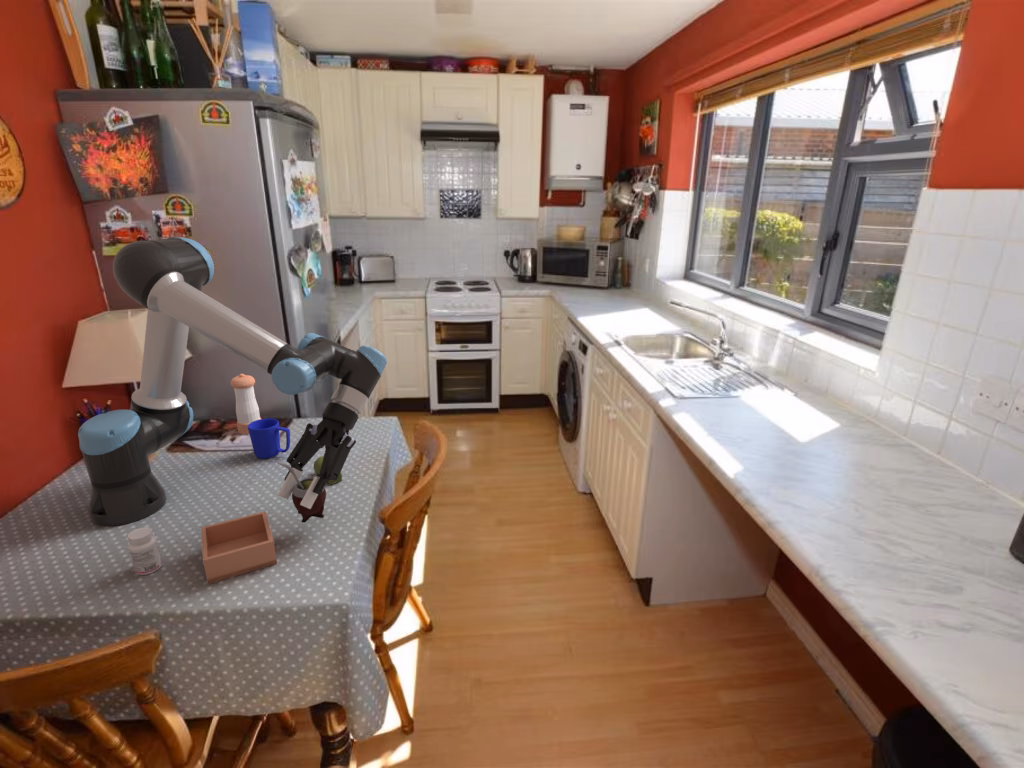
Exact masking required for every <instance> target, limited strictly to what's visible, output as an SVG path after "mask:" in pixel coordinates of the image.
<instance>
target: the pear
mask: <svg viewBox="0 0 1024 768" xmlns="http://www.w3.org/2000/svg"><path fill="white" fill-rule="evenodd" d="M323 458H324V455H322V456H319V457H317V459H315V461H314V463H313V471H314V472H315V473H316V475H317V474H320V470H321V466H322V462H323ZM333 474H334V473H333ZM342 481H343V474H342V471H341V472H340V475H339V477H338V479H337V480H336V481H334V480H330V481H328V482H327V483H326V484H329V485H333V484H336V483H338V482H342Z"/></svg>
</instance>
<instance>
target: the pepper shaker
mask: <svg viewBox="0 0 1024 768" xmlns="http://www.w3.org/2000/svg"><path fill="white" fill-rule="evenodd" d="M255 384H256V380H255V377H254V376H252V375H248V374H244V373H239V374H238V375H236V376H234V377H233V378H231V381H230V384H229V385H230V387H232V388H233V389H234V390H233V391H234V397H235V414H236V419H237V421H236V426H237V427H236V429H237V432H238V434H240V435H250V434H249V431H248V425H249V424H250V423H251V422H253V421H256V420H260V419H262V417H261V415H260V408H259V405H258V401H257V399H256V395H255V388H254V386H255Z"/></svg>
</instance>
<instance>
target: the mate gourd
mask: <svg viewBox="0 0 1024 768" xmlns="http://www.w3.org/2000/svg"><path fill="white" fill-rule="evenodd" d="M276 463H277V465H280V466H283V467H285V468H287V469H288V471H290V472H291V473H292V475H293V476H294V478H295V480H296V481H297V484H296V485H295V487H294V489H293V491H292V493H291V500H292V503H293V505H294V508H295V509H296V510H297V513H298V514H299V515H301V518H302V519H301V523H304V524H305V523H306V522H307V521H308V520H309V519H310V518H313V517H314V518H319V519H323V518H324V517H325V514H324V508H325V502H326V499H327V490H326V486H325V487H324V489H323V490H322V493H321V494H320V495H319V494H318V496H317V498H316V500H315V502H314V503H313V505H312V507H311V509H309V508H307V507H304V506H302V505H300V503H301V501H302V500H303V498H304V496H305V494H306V492H307V490H308V488H309V487H310V485H311V483H312V481H313V479H314V477H313V478H311V477H310V478H305V479H302V480H300V479H298V478H297V476H296V474H295V472H294V470H293V468H292V467H291V465H288V464H287V463H286V464H285V463H281V462H279V461H278V462H276Z"/></svg>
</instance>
